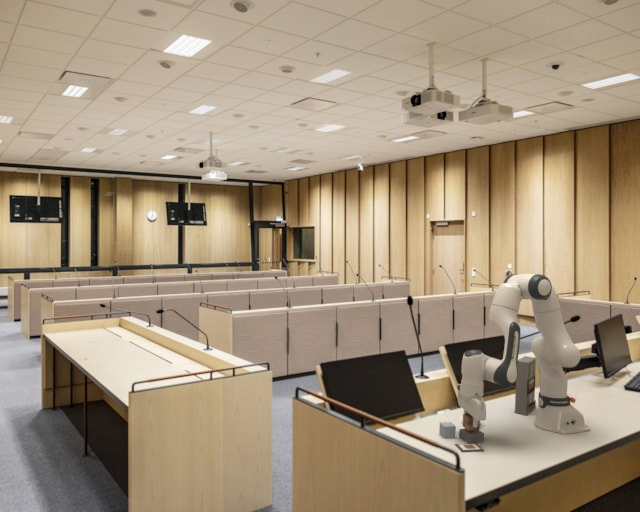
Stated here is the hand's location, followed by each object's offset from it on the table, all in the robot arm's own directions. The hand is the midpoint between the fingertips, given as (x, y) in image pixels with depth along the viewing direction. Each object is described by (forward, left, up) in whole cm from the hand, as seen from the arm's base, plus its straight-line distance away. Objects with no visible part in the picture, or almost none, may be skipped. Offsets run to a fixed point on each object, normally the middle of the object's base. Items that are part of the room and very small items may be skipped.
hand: (471, 423), depth 214 cm
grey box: (-42, -33, -7) cm, 54 cm away
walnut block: (0, 0, -2) cm, 2 cm away
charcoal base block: (0, 0, -7) cm, 7 cm away
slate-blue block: (+8, -5, -7) cm, 12 cm away
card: (+4, +8, -7) cm, 11 cm away
